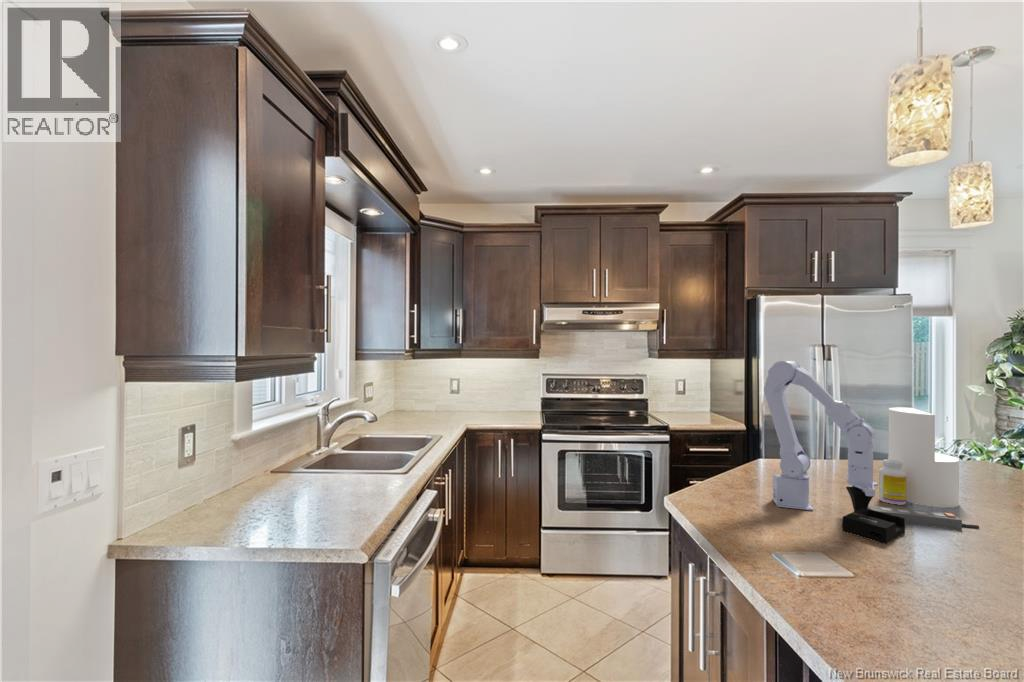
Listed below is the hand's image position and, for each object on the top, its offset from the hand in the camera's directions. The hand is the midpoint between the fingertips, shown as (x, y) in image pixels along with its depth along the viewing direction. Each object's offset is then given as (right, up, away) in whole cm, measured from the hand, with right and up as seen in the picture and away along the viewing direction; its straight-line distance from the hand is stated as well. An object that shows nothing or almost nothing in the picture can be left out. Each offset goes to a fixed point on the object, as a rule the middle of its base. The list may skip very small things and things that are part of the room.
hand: (859, 514), depth 133 cm
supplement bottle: (+21, -2, +15) cm, 26 cm away
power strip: (+16, -2, -2) cm, 16 cm away
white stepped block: (+34, -2, +19) cm, 39 cm away
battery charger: (-3, -2, -9) cm, 9 cm away
